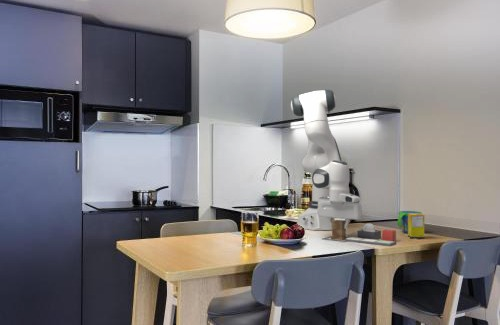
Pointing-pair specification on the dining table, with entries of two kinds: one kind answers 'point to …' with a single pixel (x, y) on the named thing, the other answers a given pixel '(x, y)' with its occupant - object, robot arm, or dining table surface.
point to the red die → (389, 235)
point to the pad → (333, 240)
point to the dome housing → (369, 234)
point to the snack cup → (404, 220)
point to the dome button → (369, 227)
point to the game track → (370, 241)
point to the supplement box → (416, 225)
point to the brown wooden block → (338, 230)
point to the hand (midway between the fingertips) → (338, 228)
